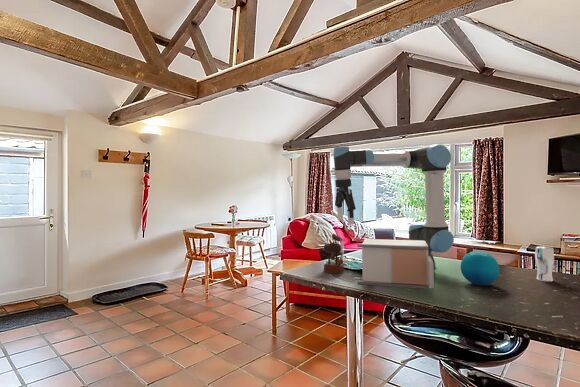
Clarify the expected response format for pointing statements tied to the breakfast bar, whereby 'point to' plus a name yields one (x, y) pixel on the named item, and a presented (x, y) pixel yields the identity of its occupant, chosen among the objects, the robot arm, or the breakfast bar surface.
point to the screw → (342, 252)
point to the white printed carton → (544, 263)
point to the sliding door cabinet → (385, 261)
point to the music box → (333, 248)
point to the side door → (412, 267)
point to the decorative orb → (479, 268)
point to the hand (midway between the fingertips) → (345, 222)
